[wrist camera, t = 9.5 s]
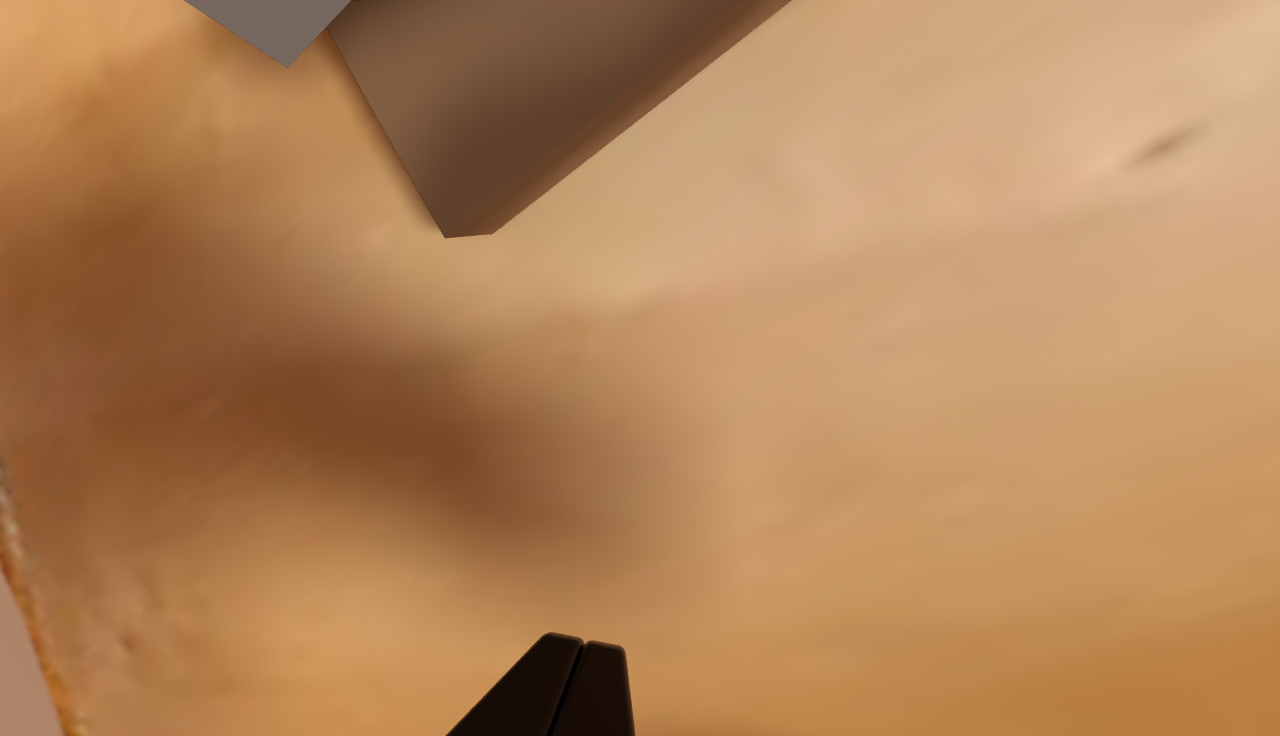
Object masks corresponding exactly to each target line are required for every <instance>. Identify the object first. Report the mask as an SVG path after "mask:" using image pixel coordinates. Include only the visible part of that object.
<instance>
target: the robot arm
mask: <svg viewBox="0 0 1280 736" xmlns="http://www.w3.org/2000/svg"><path fill="white" fill-rule="evenodd" d="M446 736H635V728H634V719H633V711H632V702H631V694H630V686H629V677H628V669H627V660H626V654H625V650H624V649H623V648H622V647H621V646H619V645H614V644H609V643H604V642H599V641H594V640H593V641H588V642H587V643H586V644H585V643H584V641H583V640H582V639H581V638H579V637H574V636H569V635H564V634H559V633H554V632H549V633H547V634H545V635H543V636H542V637H541V638H540V639H539V640H538V641H537V642H536V643H535V644H534V645H533V646H532V647H531V648H530V649H529V650H528V651H527V652H526V653H525V654H524V655H523V656H522V657H521V658H520V659H519V660H518V661H517V662H516V663H515V665H514V666H513V667H512V668H511V669H510V670H509V671H508V672H507V673H506V674H505V675H504V676H503V677H502V678H501V679H500V680H499V681H498V682H497V683H496V684H495V685H494V686H493V687H492V688H491V689H490V690H489V691H488V692H487V693H486V695H485V696H484V697H483V698H482V699H481V700H480V701H479V702H478V703H477V704H476V705H475V706H474V707H473V708H472V709H471V710H470V711H469V712H468V713H467V714H466V715H465V716H464V717H463V718H462V719H461V720H460V721H459V722H458V723H457V725H456V726H455V727H454V728H453V729H452V730H451V731H450V732H449V733H448V734H447V735H446Z"/></svg>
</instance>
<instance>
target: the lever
mask: <svg viewBox="0 0 1280 736" xmlns="http://www.w3.org/2000/svg"><path fill="white" fill-rule="evenodd" d="M184 1H186V2H187V3H189V4H190V5H192V6H193V7H195V8H197V9H198V10H200V11H201V12H203V13H204V14H206V15H207V16H209V17H210V18H212V19H213V20H215V21H216V22H218V23H219V24H221V25H222V26H224V27H225V28H227V29H228V30H230V31H231V32H233V33H235V34H236V35H238V36H239V37H241V38H242V39H244V40H245V41H247V42H248V43H250V44H251V45H253V46H254V47H256V48H257V49H259V50H260V51H262V52H263V53H265V54H266V55H268V56H269V57H271V58H272V59H274V60H276V61H277V62H279V63H280V64H282V65H283V66H285V67H286V68H288V67H289V66H290V65H291V64H292V63H293V62H294V61H295V60H296V59H297V57H298V56H299V55H300V54H301V53H302V52H303V51H304V50H305V49H306V48H307V47H308V46H309V45H310V44H311V43H312V42H313V40H314V39H315V38H316V37H317V36H318V35H319V34H320V33H321V32H322V31H323V30H324V29H325V28H326V27H327V26H328V24H329V23H330V22H331V21H332V20H333V19H334V18H335V17H336V16H337V15H338V14H339V13H340V12H341V11H342V10H343V9H344V7H345V6H346V5H347V4H348V3H349V2H350V1H351V0H184Z"/></svg>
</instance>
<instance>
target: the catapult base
mask: <svg viewBox="0 0 1280 736" xmlns="http://www.w3.org/2000/svg"><path fill="white" fill-rule="evenodd" d="M790 1H791V0H351V1H350V2H349V3H348V4H347V5H346V6H345V7H344V9H343V10H342V11H341V12H340V13H339V14H338V15H337V16H336V17H335V18H334V19H333V20H332V21H331V22H330V23H329V24H328V26H327V27H326V28H327V30H328V32H329V33H330V35H331V37H332V39H333V40H334V42H335V44H336V46H337V48H338V49H339V51H340V53H341V55H342V56H343V58H344V60H345V62H346V64H347V65H348V67H349V69H350V71H351V72H352V74H353V76H354V78H355V80H356V81H357V83H358V85H359V87H360V88H361V90H362V92H363V94H364V96H365V97H366V99H367V101H368V103H369V104H370V106H371V108H372V110H373V112H374V113H375V115H376V117H377V119H378V120H379V122H380V124H381V126H382V128H383V129H384V131H385V133H386V135H387V136H388V138H389V140H390V142H391V144H392V145H393V147H394V149H395V151H396V152H397V154H398V156H399V158H400V160H401V161H402V163H403V165H404V167H405V168H406V170H407V172H408V174H409V176H410V177H411V179H412V181H413V183H414V184H415V186H416V188H417V190H418V192H419V193H420V195H421V197H422V199H423V200H424V202H425V204H426V206H427V208H428V209H429V211H430V213H431V215H432V216H433V218H434V220H435V222H436V224H437V225H438V227H439V229H440V231H441V232H442V234H443V236H444V238H453V237H464V236H475V235H486V234H493V233H494V232H496V231H497V230H498V229H499V228H501V227H502V226H503V225H505V224H506V223H507V222H508V221H510V220H511V219H512V218H514V217H515V216H516V215H517V214H519V213H520V212H521V211H523V210H524V209H525V208H526V207H528V206H529V205H530V204H531V203H533V202H534V201H535V200H537V199H538V198H539V197H540V196H542V195H543V194H544V193H546V192H547V191H548V190H549V189H551V188H552V187H553V186H555V185H556V184H557V183H558V182H560V181H561V180H562V179H563V178H565V177H566V176H567V175H569V174H570V173H571V172H572V171H574V170H575V169H576V168H578V167H579V166H580V165H581V164H583V163H584V162H585V161H586V160H588V159H589V158H590V157H592V156H593V155H594V154H595V153H597V152H598V151H599V150H601V149H602V148H603V147H604V146H606V145H607V144H608V143H610V142H611V141H612V140H613V139H615V138H616V137H617V136H618V135H620V134H621V133H622V132H624V131H625V130H626V129H627V128H629V127H630V126H631V125H633V124H634V123H635V122H636V121H638V120H639V119H640V118H642V117H643V116H644V115H645V114H647V113H648V112H649V111H650V110H652V109H653V108H654V107H656V106H657V105H658V104H659V103H661V102H662V101H663V100H665V99H666V98H667V97H668V96H670V95H671V94H672V93H673V92H675V91H676V90H677V89H679V88H680V87H681V86H682V85H684V84H685V83H686V82H688V81H689V80H690V79H691V78H693V77H694V76H695V75H697V74H698V73H699V72H700V71H702V70H703V69H704V68H705V67H707V66H708V65H709V64H711V63H712V62H713V61H714V60H716V59H717V58H718V57H720V56H721V55H722V54H723V53H725V52H726V51H727V50H729V49H730V48H731V47H732V46H734V45H735V44H736V43H737V42H739V41H740V40H741V39H743V38H744V37H745V36H746V35H748V34H749V33H750V32H752V31H753V30H754V29H755V28H757V27H758V26H759V25H760V24H762V23H763V22H764V21H766V20H767V19H768V18H769V17H771V16H772V15H773V14H775V13H776V12H777V11H778V10H780V9H781V8H782V7H784V6H785V5H786V4H787V3H789V2H790Z"/></svg>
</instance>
